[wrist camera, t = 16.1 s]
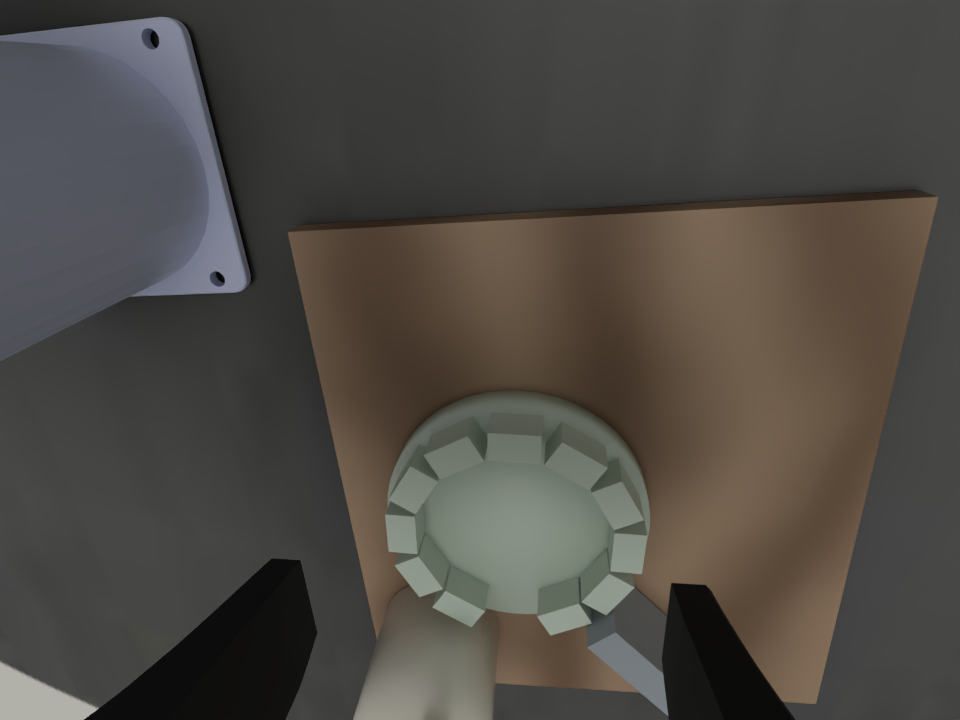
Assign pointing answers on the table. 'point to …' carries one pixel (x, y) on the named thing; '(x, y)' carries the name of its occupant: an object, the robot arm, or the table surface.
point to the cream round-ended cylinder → (430, 664)
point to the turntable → (530, 524)
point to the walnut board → (641, 385)
